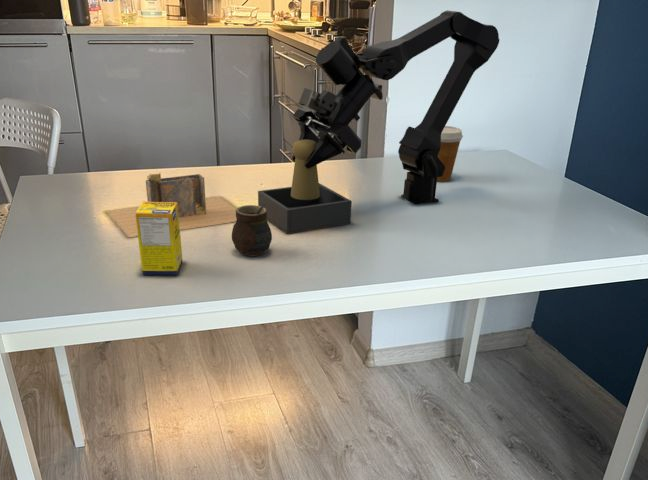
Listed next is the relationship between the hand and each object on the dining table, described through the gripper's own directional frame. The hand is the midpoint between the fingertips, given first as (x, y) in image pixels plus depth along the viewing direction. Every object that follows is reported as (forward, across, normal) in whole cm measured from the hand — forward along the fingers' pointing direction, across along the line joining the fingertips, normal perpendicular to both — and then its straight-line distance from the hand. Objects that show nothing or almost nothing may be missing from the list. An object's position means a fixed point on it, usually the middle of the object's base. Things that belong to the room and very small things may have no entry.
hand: (299, 163), depth 133 cm
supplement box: (+32, +13, -16) cm, 37 cm away
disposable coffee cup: (-24, -12, +42) cm, 50 cm away
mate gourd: (+20, +12, -3) cm, 23 cm away
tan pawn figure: (+4, 0, +6) cm, 7 cm away
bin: (+7, 0, +9) cm, 11 cm away
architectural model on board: (+24, -12, -7) cm, 28 cm away
